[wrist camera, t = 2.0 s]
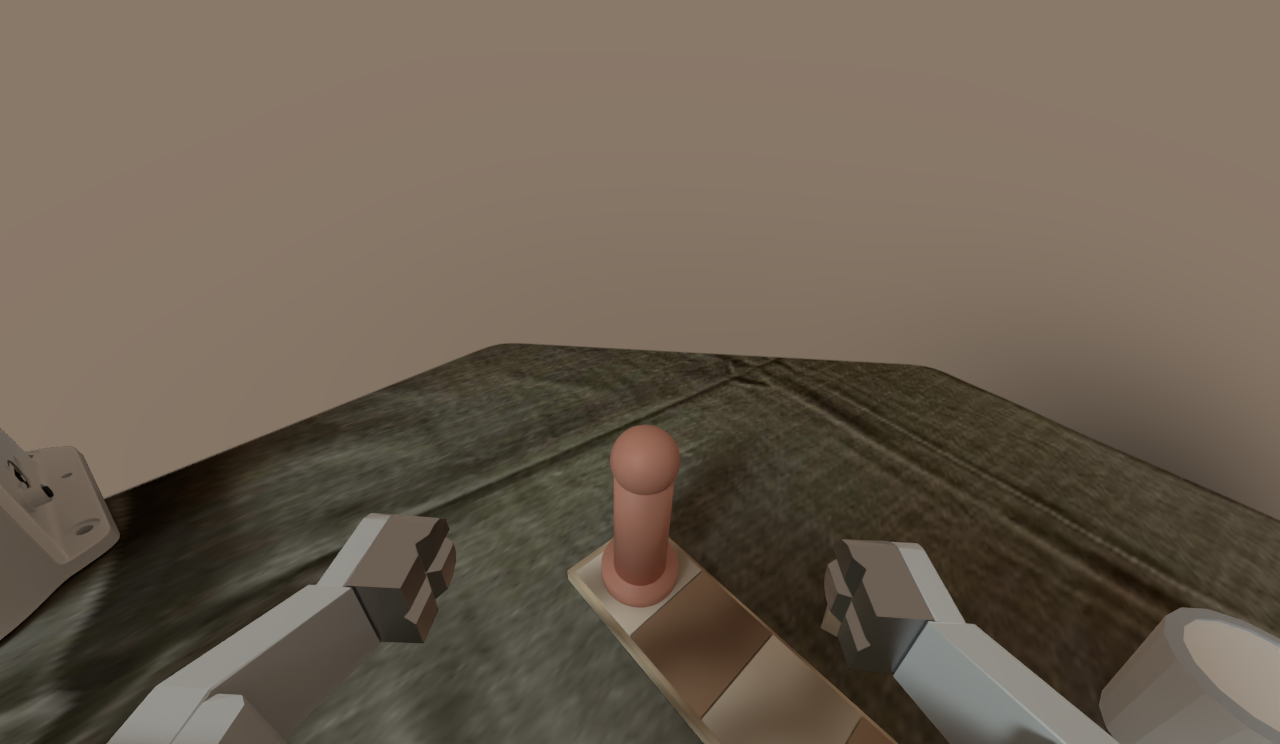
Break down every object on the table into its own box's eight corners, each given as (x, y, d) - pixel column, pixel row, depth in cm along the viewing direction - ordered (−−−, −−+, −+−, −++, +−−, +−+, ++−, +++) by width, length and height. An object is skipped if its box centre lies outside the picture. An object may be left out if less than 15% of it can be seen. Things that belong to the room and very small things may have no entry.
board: (568, 579, 31) (567, 568, 30) (644, 524, 35) (644, 513, 34) (927, 1014, 17) (940, 1012, 16) (984, 837, 21) (997, 829, 20)
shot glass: (1240, 728, 25) (1353, 664, 21) (1289, 876, 20) (1446, 828, 16) (1080, 647, 28) (1152, 580, 24) (1089, 758, 23) (1181, 696, 20)
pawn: (586, 567, 30) (579, 429, 24) (641, 526, 33) (648, 393, 27) (636, 624, 27) (643, 483, 21) (692, 574, 30) (714, 436, 24)
